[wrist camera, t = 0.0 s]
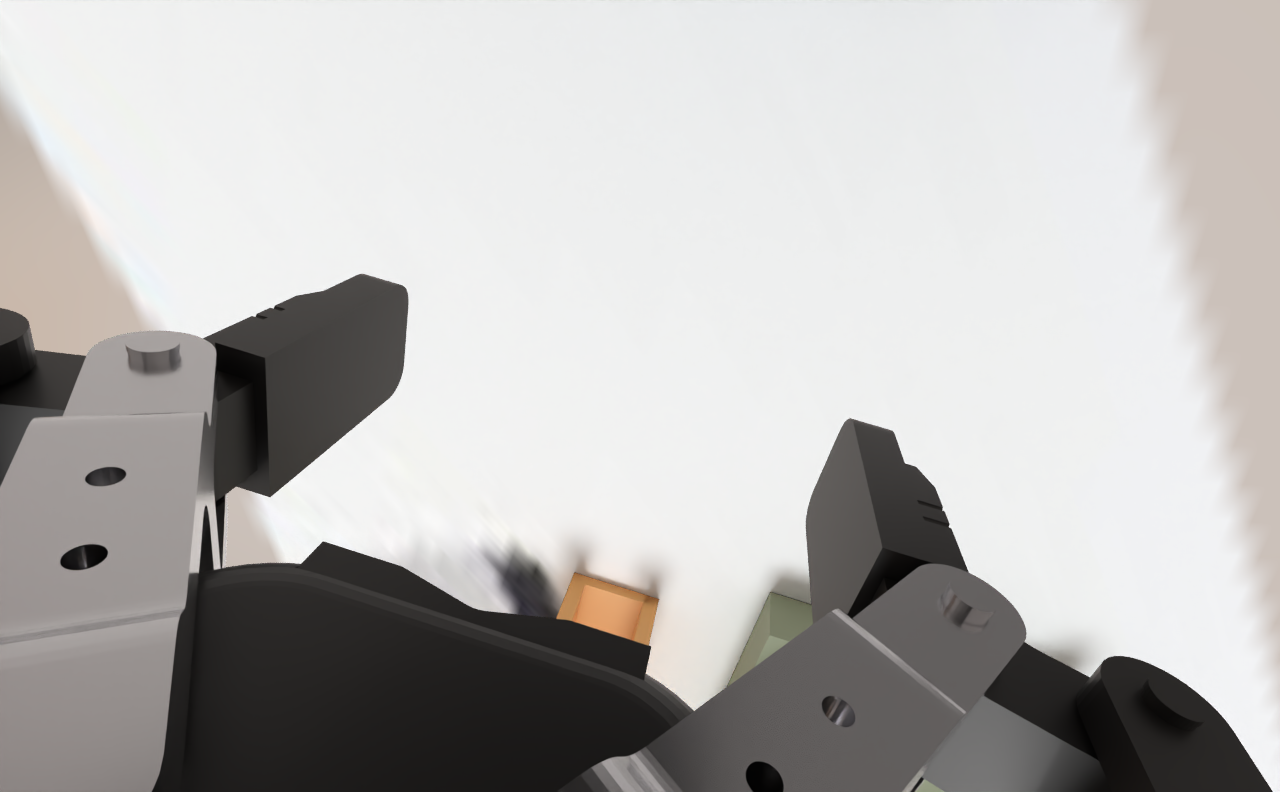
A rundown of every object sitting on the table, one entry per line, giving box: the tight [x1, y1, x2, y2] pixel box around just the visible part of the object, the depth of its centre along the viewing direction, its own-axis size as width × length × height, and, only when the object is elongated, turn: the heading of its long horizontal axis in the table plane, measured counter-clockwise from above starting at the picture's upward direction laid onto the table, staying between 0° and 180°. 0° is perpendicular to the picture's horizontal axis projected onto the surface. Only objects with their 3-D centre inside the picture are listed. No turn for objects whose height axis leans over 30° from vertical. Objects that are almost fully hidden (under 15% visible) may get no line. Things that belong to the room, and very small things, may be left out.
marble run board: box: [727, 592, 944, 792], centre depth 36 cm, size 16×16×6 cm
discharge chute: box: [556, 573, 659, 646], centre depth 39 cm, size 14×5×5 cm, turn 167°
